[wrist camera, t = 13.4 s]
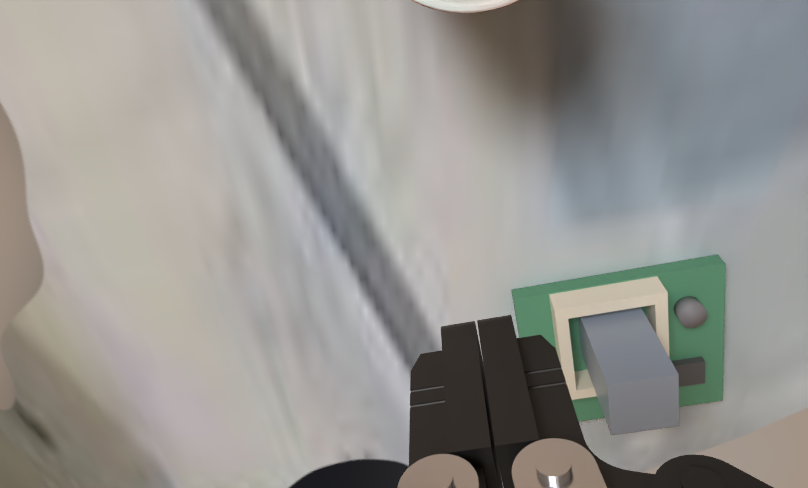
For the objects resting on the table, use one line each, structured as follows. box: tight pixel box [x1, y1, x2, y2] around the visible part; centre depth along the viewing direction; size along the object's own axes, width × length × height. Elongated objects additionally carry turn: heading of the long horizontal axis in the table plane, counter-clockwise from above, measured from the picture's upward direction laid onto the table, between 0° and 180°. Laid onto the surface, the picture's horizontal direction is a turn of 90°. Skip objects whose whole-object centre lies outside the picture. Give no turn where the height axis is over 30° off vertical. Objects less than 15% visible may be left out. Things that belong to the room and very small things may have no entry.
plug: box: [578, 307, 679, 435], centre depth 41 cm, size 4×5×8 cm
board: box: [512, 255, 725, 421], centre depth 45 cm, size 14×12×3 cm
